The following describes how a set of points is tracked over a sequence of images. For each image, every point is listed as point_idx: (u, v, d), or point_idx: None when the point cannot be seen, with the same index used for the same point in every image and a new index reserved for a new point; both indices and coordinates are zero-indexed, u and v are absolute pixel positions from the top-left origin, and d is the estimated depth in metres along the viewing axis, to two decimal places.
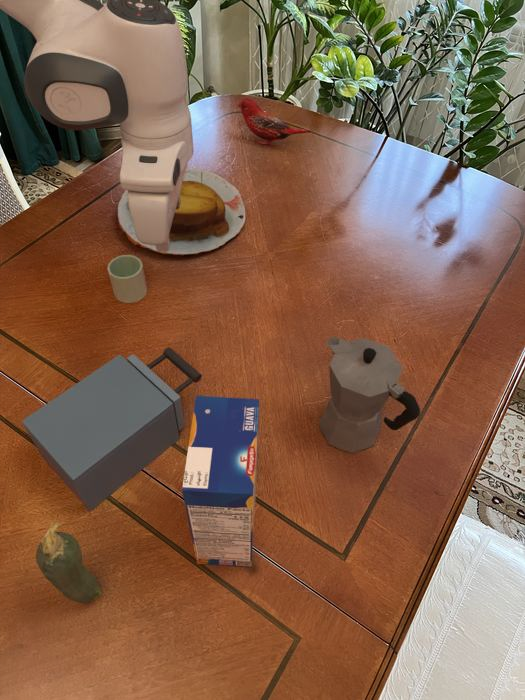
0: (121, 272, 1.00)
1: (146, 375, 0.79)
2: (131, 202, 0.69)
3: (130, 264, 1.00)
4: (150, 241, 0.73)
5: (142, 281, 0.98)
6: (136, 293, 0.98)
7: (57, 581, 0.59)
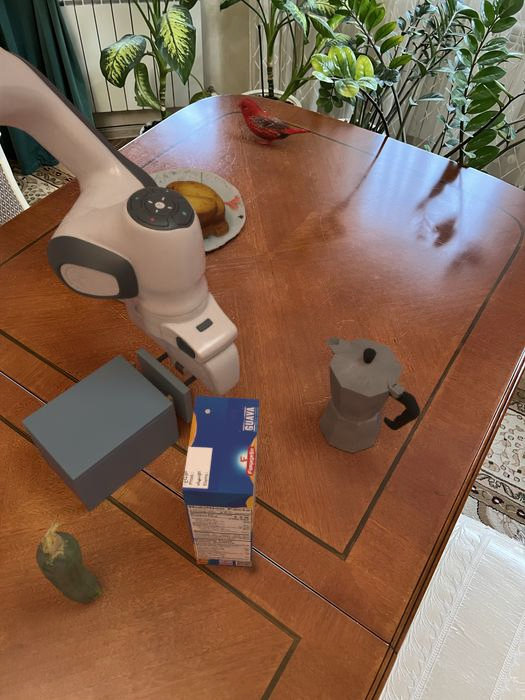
0: None
1: (156, 368, 0.80)
2: (213, 368, 0.71)
3: None
4: (229, 388, 0.75)
5: None
6: None
7: (57, 581, 0.59)
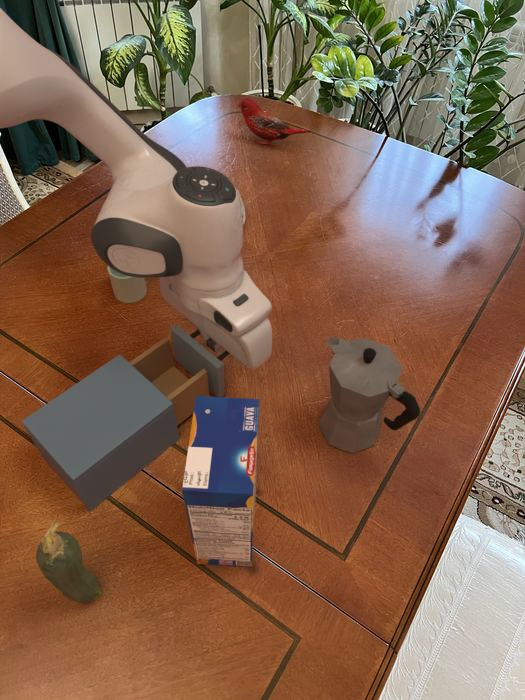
0: None
1: (190, 344, 0.83)
2: (248, 341, 0.74)
3: None
4: (262, 362, 0.78)
5: (142, 281, 0.98)
6: (136, 293, 0.98)
7: (57, 581, 0.59)
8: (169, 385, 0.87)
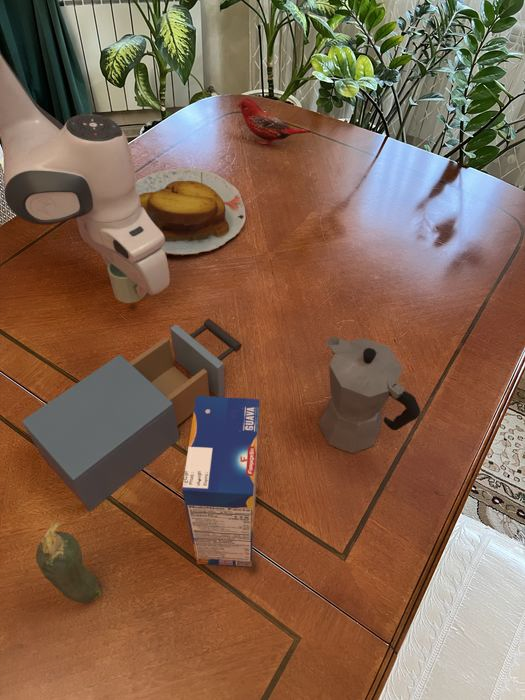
0: (121, 272, 1.00)
1: (190, 344, 0.83)
2: (144, 267, 0.86)
3: None
4: (161, 289, 0.91)
5: None
6: None
7: (57, 581, 0.59)
8: (169, 385, 0.87)
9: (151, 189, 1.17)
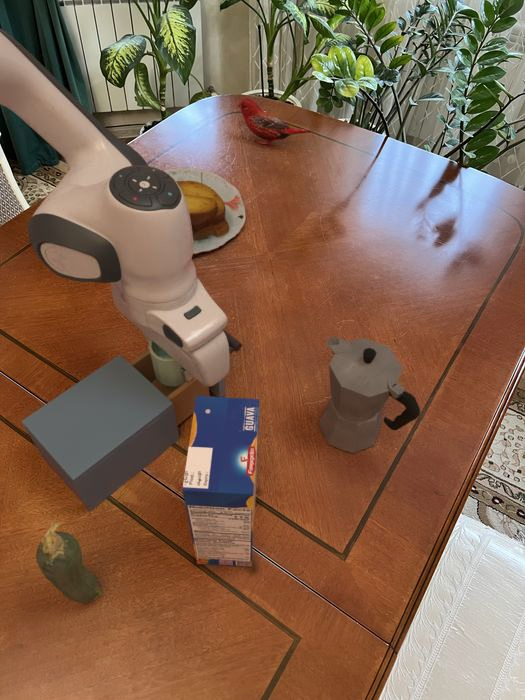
0: None
1: None
2: (201, 358, 0.68)
3: None
4: (219, 379, 0.72)
5: None
6: None
7: (57, 581, 0.59)
8: None
9: None
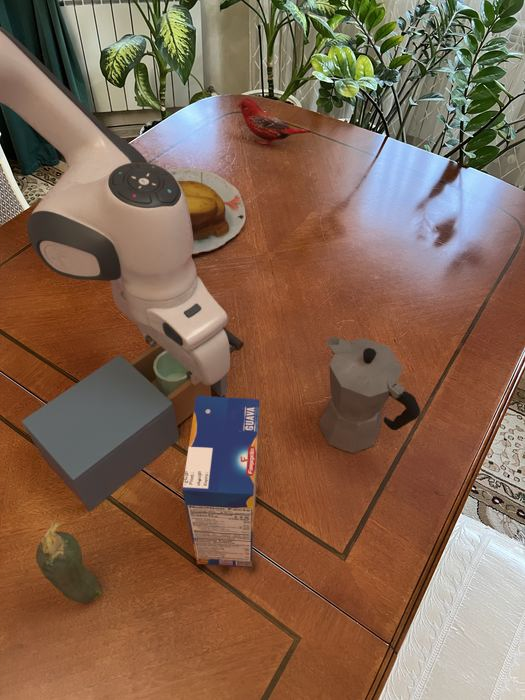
0: (167, 367, 0.85)
1: None
2: (201, 356, 0.67)
3: None
4: (219, 377, 0.72)
5: None
6: None
7: (57, 581, 0.59)
8: None
9: None
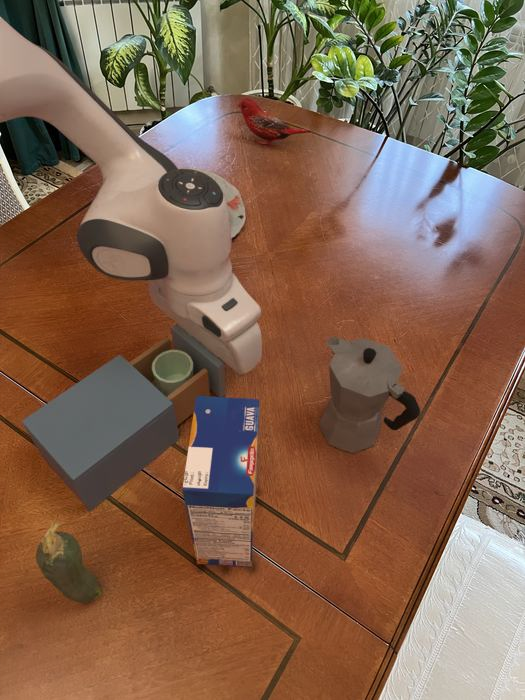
0: (166, 368, 0.85)
1: (190, 343, 0.83)
2: (237, 346, 0.73)
3: (177, 359, 0.84)
4: (252, 367, 0.77)
5: None
6: None
7: (57, 581, 0.59)
8: None
9: None
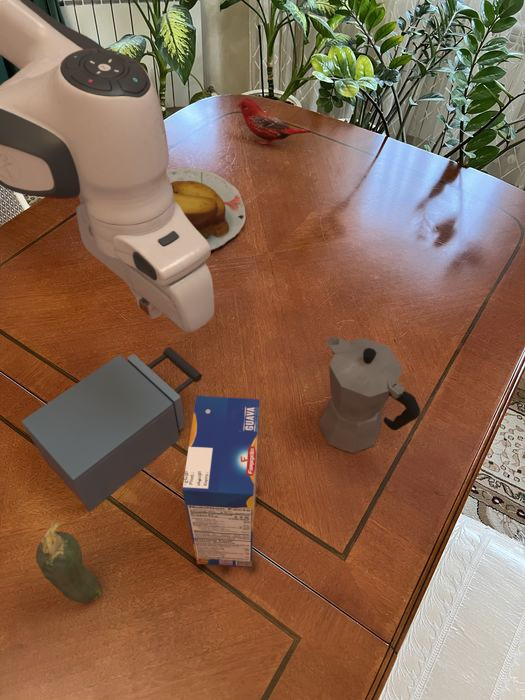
0: None
1: (146, 375, 0.79)
2: (179, 293, 0.57)
3: None
4: (202, 323, 0.61)
5: None
6: None
7: (57, 581, 0.59)
8: None
9: None
